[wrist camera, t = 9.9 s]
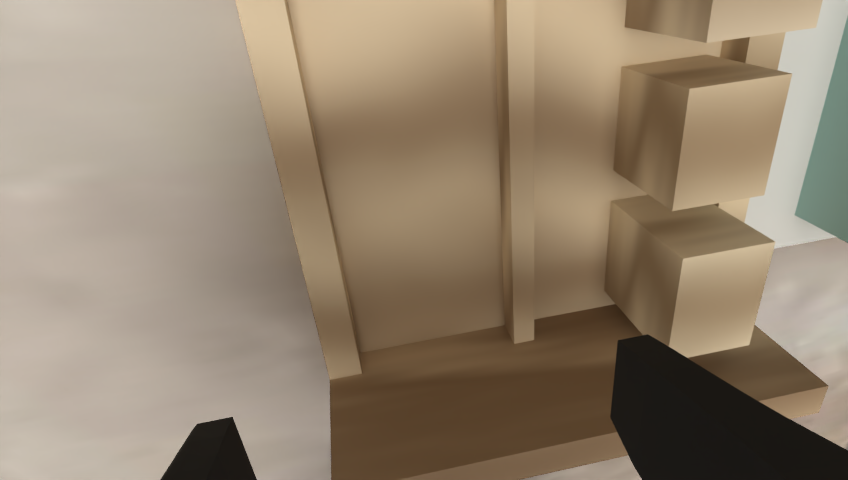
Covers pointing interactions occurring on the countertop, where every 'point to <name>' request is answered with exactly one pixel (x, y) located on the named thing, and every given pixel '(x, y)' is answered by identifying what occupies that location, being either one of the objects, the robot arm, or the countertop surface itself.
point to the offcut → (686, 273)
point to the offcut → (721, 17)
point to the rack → (470, 225)
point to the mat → (799, 127)
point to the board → (830, 157)
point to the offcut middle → (698, 129)
